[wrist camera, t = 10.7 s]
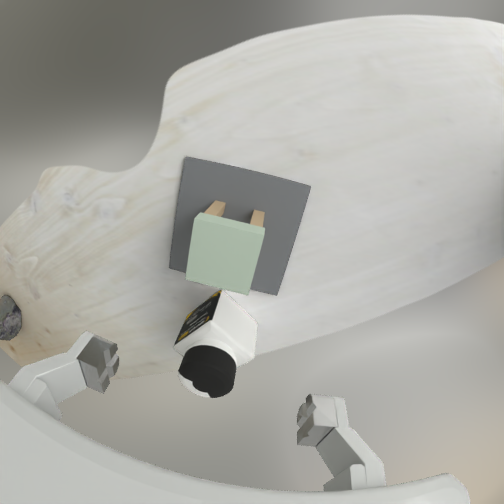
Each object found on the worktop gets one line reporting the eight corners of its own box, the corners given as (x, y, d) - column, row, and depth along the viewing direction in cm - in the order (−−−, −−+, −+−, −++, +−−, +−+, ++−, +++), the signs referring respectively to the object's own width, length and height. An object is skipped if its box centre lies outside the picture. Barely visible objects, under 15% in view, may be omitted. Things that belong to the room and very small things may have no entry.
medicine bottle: (221, 287, 35) (200, 352, 24) (259, 322, 37) (252, 391, 26) (186, 315, 37) (158, 377, 26) (222, 345, 39) (207, 410, 28)
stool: (266, 210, 30) (264, 235, 23) (254, 259, 33) (248, 295, 25) (214, 198, 30) (194, 218, 23) (204, 246, 32) (185, 279, 25)
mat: (310, 186, 29) (311, 186, 29) (276, 293, 35) (276, 295, 34) (186, 156, 29) (185, 157, 28) (170, 266, 34) (169, 268, 34)
